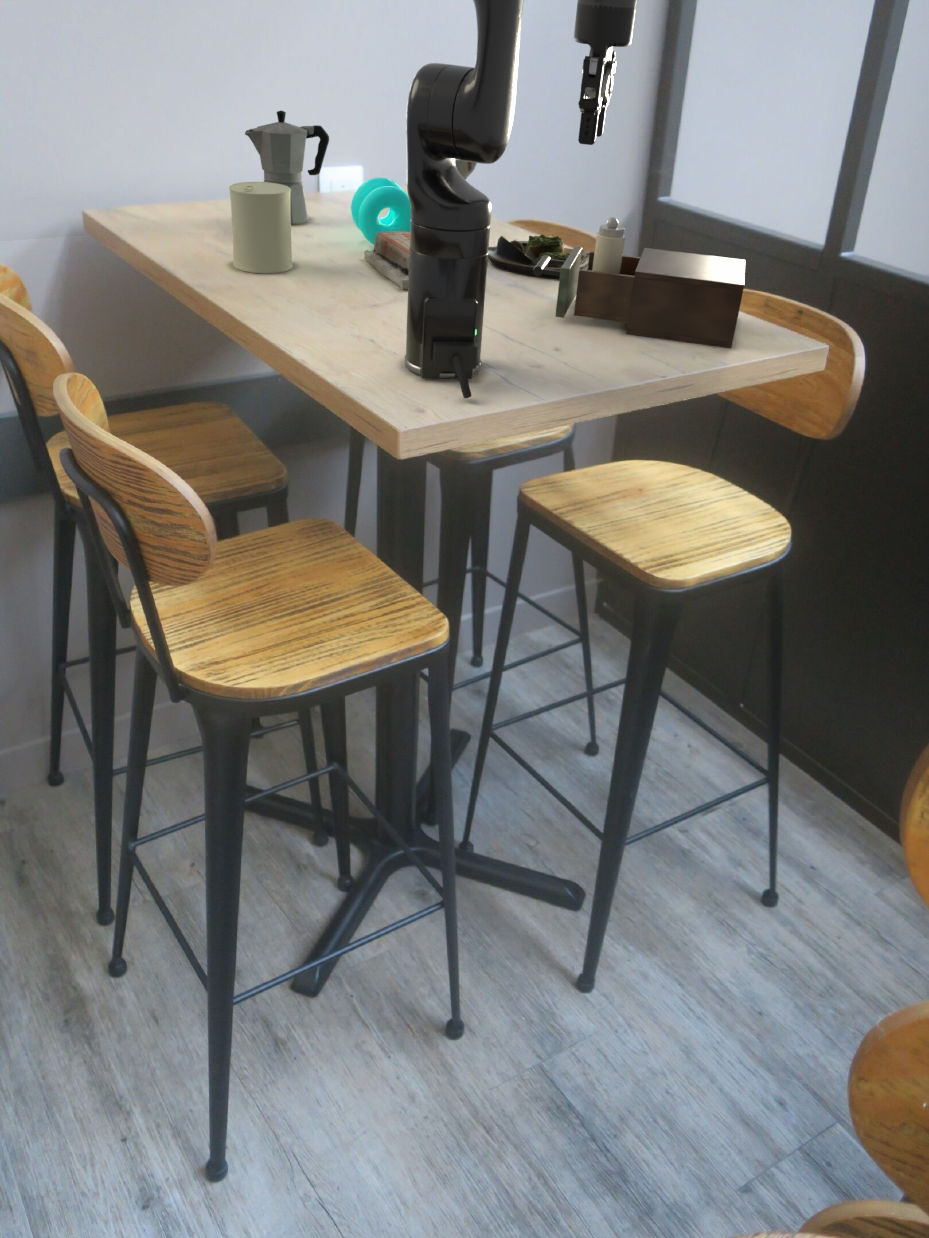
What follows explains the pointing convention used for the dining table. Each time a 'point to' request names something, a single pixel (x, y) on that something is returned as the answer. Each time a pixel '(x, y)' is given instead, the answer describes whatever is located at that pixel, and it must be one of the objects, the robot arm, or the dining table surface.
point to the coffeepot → (288, 158)
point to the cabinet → (686, 297)
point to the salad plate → (531, 254)
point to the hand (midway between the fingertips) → (590, 140)
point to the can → (261, 227)
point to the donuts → (380, 208)
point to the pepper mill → (609, 247)
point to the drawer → (592, 287)
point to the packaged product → (391, 256)
